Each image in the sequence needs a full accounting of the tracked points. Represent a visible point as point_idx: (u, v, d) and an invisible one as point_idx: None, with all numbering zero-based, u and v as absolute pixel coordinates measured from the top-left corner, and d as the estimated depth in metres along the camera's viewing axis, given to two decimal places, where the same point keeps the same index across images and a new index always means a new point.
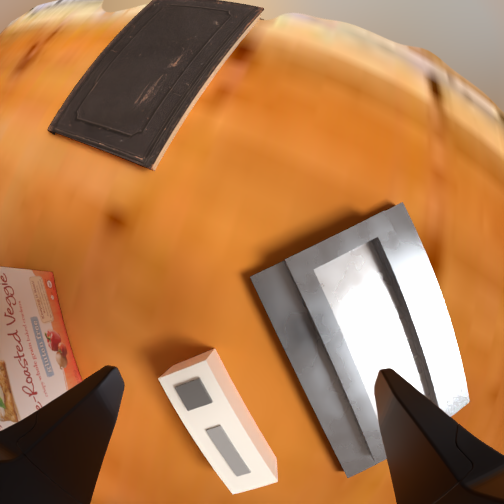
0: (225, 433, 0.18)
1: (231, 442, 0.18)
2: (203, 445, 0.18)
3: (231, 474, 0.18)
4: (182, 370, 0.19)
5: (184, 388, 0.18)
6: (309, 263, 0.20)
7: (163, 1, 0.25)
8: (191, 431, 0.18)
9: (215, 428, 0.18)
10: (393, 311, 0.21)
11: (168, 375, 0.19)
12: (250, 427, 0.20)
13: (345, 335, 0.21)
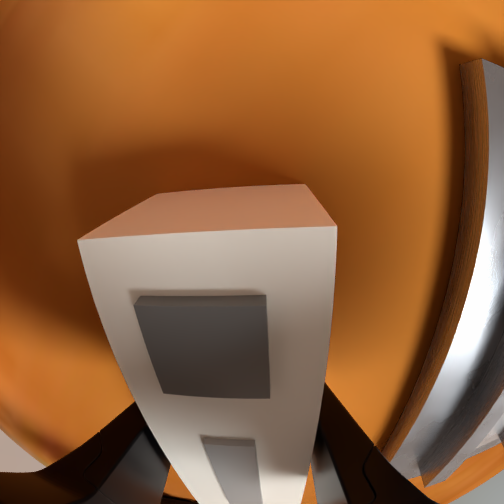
0: (253, 455, 0.06)
1: (256, 468, 0.06)
2: (179, 456, 0.06)
3: (219, 497, 0.08)
4: (196, 237, 0.04)
5: (177, 322, 0.04)
6: None
7: None
8: (156, 427, 0.06)
9: (234, 447, 0.06)
10: None
11: (122, 240, 0.04)
12: None
13: None
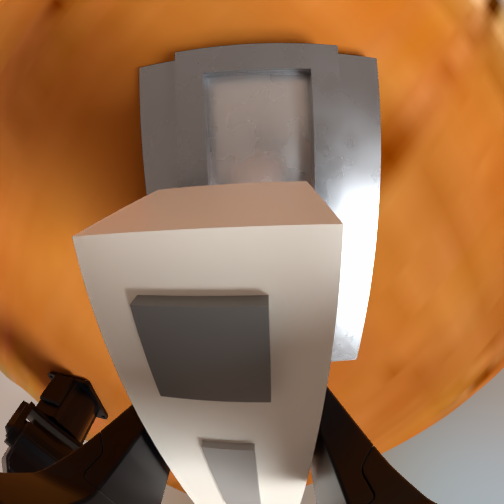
0: (252, 459, 0.06)
1: (255, 471, 0.06)
2: (176, 458, 0.06)
3: (217, 499, 0.07)
4: (196, 234, 0.04)
5: (175, 323, 0.04)
6: (201, 64, 0.13)
7: None
8: (152, 429, 0.06)
9: (233, 451, 0.05)
10: (298, 177, 0.16)
11: (119, 236, 0.04)
12: None
13: (221, 176, 0.16)
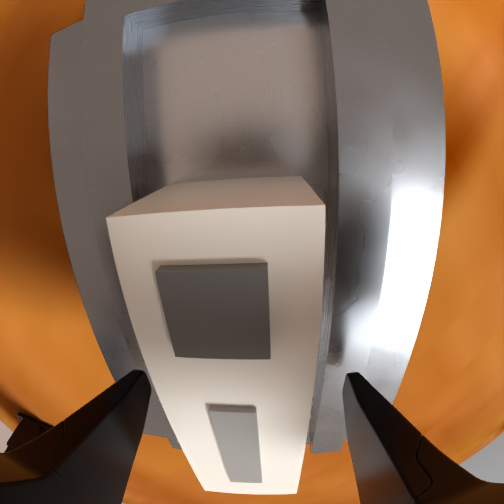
0: (254, 424, 0.07)
1: (257, 439, 0.07)
2: (185, 427, 0.07)
3: (220, 474, 0.09)
4: (210, 214, 0.05)
5: (192, 286, 0.05)
6: (122, 4, 0.05)
7: None
8: (165, 395, 0.07)
9: (237, 413, 0.07)
10: None
11: (147, 217, 0.05)
12: None
13: None
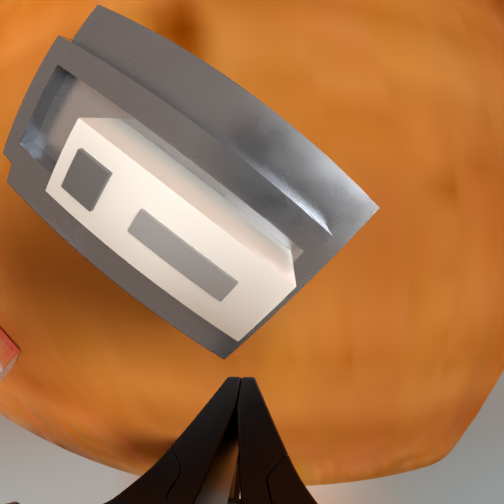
0: (157, 222, 0.12)
1: (174, 234, 0.12)
2: (142, 263, 0.12)
3: (212, 301, 0.13)
4: (61, 155, 0.11)
5: (70, 177, 0.11)
6: (16, 141, 0.13)
7: None
8: (114, 246, 0.12)
9: (136, 219, 0.11)
10: (127, 122, 0.14)
11: (52, 176, 0.11)
12: (205, 200, 0.13)
13: None
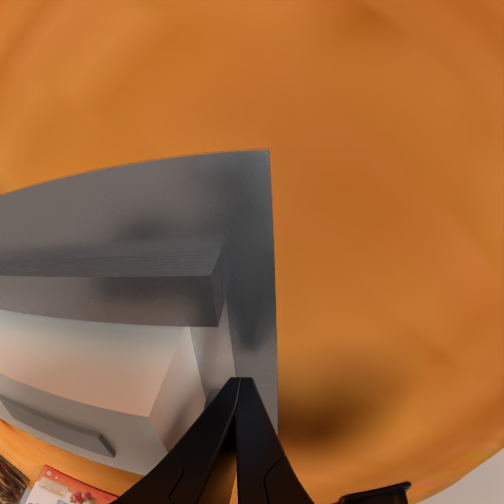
0: (13, 401, 0.06)
1: (27, 407, 0.06)
2: (47, 439, 0.07)
3: (113, 457, 0.07)
4: None
5: None
6: None
7: None
8: (27, 431, 0.07)
9: (5, 406, 0.06)
10: None
11: None
12: (34, 347, 0.07)
13: None
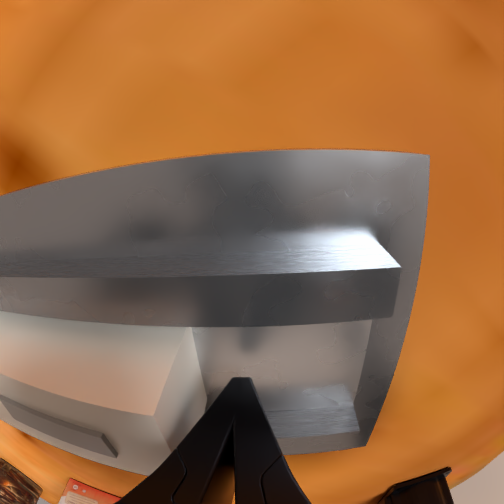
0: (14, 401, 0.06)
1: (28, 407, 0.06)
2: (48, 439, 0.07)
3: (116, 457, 0.07)
4: None
5: None
6: None
7: None
8: (27, 432, 0.07)
9: (5, 406, 0.06)
10: None
11: None
12: (35, 347, 0.07)
13: None
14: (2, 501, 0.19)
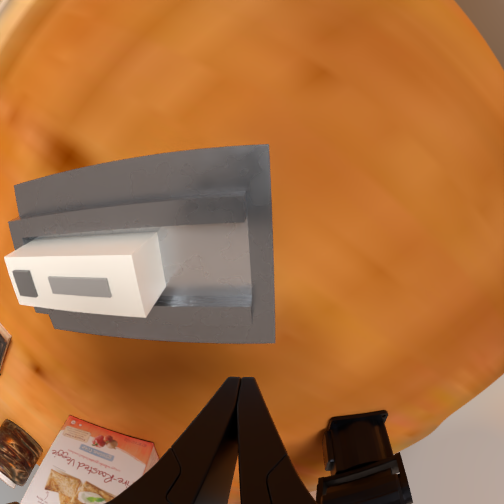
0: (58, 277, 0.16)
1: (66, 277, 0.16)
2: (71, 305, 0.16)
3: (110, 301, 0.16)
4: (11, 280, 0.16)
5: (19, 287, 0.16)
6: None
7: None
8: (57, 307, 0.17)
9: (50, 283, 0.16)
10: None
11: (16, 294, 0.17)
12: (76, 246, 0.17)
13: None
14: (4, 458, 0.29)
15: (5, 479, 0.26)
